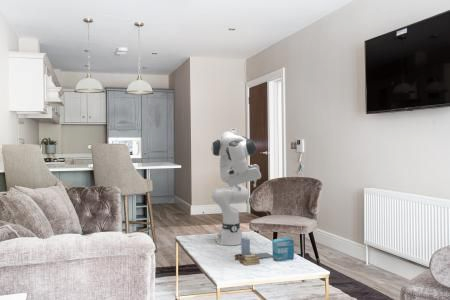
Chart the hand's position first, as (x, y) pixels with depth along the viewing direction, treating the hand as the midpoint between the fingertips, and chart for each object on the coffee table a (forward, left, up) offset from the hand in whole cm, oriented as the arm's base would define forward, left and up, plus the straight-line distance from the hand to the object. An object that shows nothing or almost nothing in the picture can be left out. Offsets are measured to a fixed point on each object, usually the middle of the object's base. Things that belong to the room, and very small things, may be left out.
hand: (247, 188), depth 274 cm
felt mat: (+1, +8, -41) cm, 42 cm away
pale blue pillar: (+6, -5, -41) cm, 42 cm away
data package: (+13, +16, -42) cm, 47 cm away
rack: (+6, -5, -41) cm, 42 cm away
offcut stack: (+14, -5, -41) cm, 44 cm away
